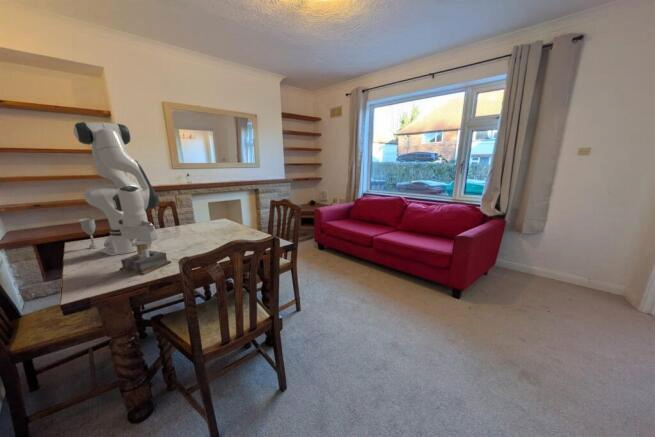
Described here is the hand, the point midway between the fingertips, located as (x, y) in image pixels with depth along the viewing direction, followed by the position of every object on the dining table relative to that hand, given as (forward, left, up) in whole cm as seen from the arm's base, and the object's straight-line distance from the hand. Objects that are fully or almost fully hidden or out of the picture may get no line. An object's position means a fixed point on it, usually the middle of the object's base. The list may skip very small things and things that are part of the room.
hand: (141, 247), depth 124 cm
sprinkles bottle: (+1, -1, -9) cm, 9 cm away
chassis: (0, 0, -10) cm, 10 cm away
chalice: (-60, +11, -10) cm, 61 cm away
